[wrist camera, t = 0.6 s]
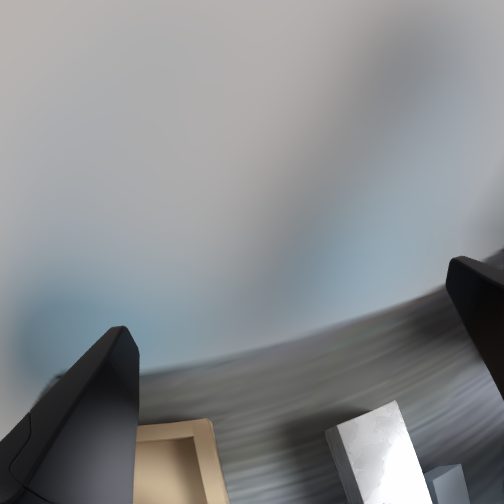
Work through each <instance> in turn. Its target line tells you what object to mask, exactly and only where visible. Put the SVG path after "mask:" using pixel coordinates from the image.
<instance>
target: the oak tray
mask: <svg viewBox="0 0 504 504" xmlns="http://www.w3.org/2000/svg"><path fill="white" fill-rule="evenodd" d="M133 504H230V501H229V497H228V493H227V489H226V484H225V480H224V476H223V471H222V467H221V462H220V458H219V453H218V449H217V444H216V439H215V434H214V429H213V424H212V422H211V421H209V420H208V419H207V418H205V419H198V420H191V421H183V422H174V423H165V424H154V425H141V426H137V436H136V450H135V466H134V489H133Z"/></svg>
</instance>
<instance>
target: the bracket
mask: <svg viewBox="0 0 504 504" xmlns="http://www.w3.org/2000/svg"><path fill="white" fill-rule="evenodd" d="M423 477H424V480H425V483H426V486H427V489H428V492H429V495H430V499H431V502H432V504H470V500H469V495H468V491H467V486H466V482H465V478H464V474H463V470H462V466H461V464H455V465H446V466H437V467H435V468H433V469H432V470H430V471H428V472H426V473H424V474H423Z"/></svg>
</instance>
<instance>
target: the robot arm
mask: <svg viewBox="0 0 504 504" xmlns="http://www.w3.org/2000/svg"><path fill="white" fill-rule="evenodd" d="M446 289H447V292H448V294H449V296H450V298H451V300H452V302H453V304H454V306H455V308H456V310H457V312H458V314H459V316H460V318H461V320H462V322H463V324H464V326H465V328H466V330H467V332H468V334H469V336H470V337H471V339H472V341H473V343H474V344H475V346H476V348H477V350H478V352H479V353H480V355H481V357H482V359H483V361H484V363H485V364H486V366H487V368H488V370H489V372H490V374H491V376H492V378H493V380H494V382H495V384H496V386H497V388H498V390H499V392H500V394H501V396H502V398H503V400H504V270H502V269H499V268H497V267H494V266H491V265H488V264H486V263H483V262H480V261H477V260H474V259H471V258H468V257H465V256H459V257H455V258H452V259H451V261H450V263H449V267H448V273H447V278H446ZM139 357H140V356H139V350H138V347H137V345H136V343H135V342H134V339H133V338H132V336H131V334H130V332H129V330H128V328H127V327H125V326H117V327H112V328H110V329H109V330H108V331H107V332H106V333H105V334H104V335H103V336H102V337H101V338H100V339H99V340H98V341H97V342H96V343H95V344H94V345H93V346H92V347H91V348H90V349H89V350H88V351H87V352H86V353H85V354H84V355H83V356H82V357H81V358H80V359H79V360H78V361H77V362H76V363H75V364H74V365H73V366H72V367H71V368H70V369H69V370H68V371H67V372H66V373H65V374H64V375H63V376H62V377H61V378H60V379H59V380H58V381H57V382H56V384H55V385H54V386H53V387H52V388H51V389H50V390H49V391H48V392H47V393H46V394H45V395H44V396H43V397H42V398H41V399H40V400H39V401H38V403H37V404H36V405H35V406H34V407H33V408H32V409H31V410H30V412H28V413H27V414H26V415H25V417H24V418H23V419H22V420H21V421H20V422H19V423H18V424H17V425H16V426H15V427H14V428H13V430H11V432H10V433H9V434H8V435H6V437H4V439H2V440H1V441H0V504H133V489H134V466H135V450H136V436H137V424H138V413H139Z"/></svg>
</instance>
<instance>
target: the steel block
mask: <svg viewBox="0 0 504 504" xmlns="http://www.w3.org/2000/svg"><path fill="white" fill-rule="evenodd" d="M324 434H325V437H326V440H327V442H328V445H329V448H330V451H331V454H332V457H333V460H334V463H335V466H336V468H337V471H338V474H339V477H340V480H341V483H342V486H343V489H344V492H345V495H346V498H347V500H348V503H349V504H432V502H431V499H430V495H429V492H428V489H427V486H426V483H425V480H424V477H423V474H422V471H421V468H420V465H419V462H418V459H417V456H416V454H415V451H414V448H413V445H412V442H411V440H410V437H409V434H408V432H407V429H406V426H405V424H404V421H403V418H402V416H401V413H400V411H399V408H398V406H397V403H396V401H393V402H391V403H389V404H387V405H385V406H382V407H380V408H378V409H376V410H373V411H371V412H369V413H366V414H364V415H362V416H359V417H357V418H354V419H352V420H349V421H347V422H344V423H342V424H339V425H336V426H334V427H332V428H329V429H327V430H325V431H324Z"/></svg>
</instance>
